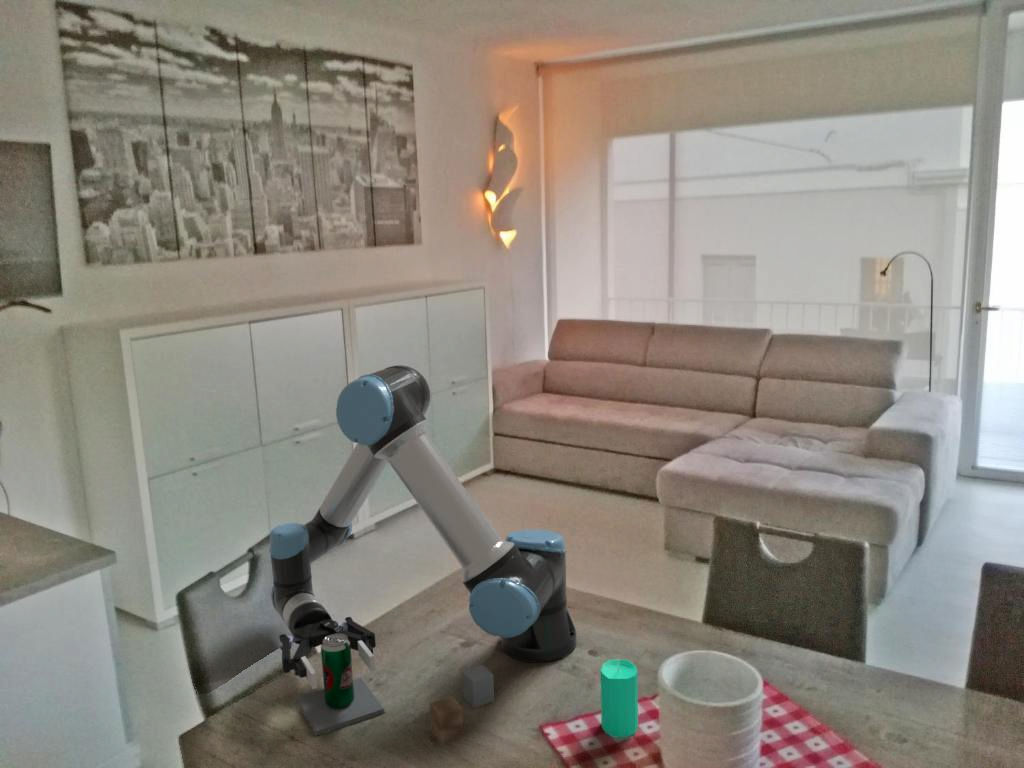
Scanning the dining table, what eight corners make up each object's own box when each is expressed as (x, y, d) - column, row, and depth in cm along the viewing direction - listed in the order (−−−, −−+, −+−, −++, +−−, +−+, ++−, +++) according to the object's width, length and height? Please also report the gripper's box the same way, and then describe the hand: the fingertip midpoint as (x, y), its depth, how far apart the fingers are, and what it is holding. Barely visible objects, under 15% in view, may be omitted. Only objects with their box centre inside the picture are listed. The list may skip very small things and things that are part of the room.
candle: (614, 711, 141) (613, 647, 138) (644, 724, 137) (644, 658, 135) (594, 728, 136) (593, 662, 134) (625, 742, 132) (624, 674, 130)
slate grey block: (483, 690, 149) (482, 665, 148) (494, 700, 145) (493, 675, 144) (464, 697, 147) (462, 671, 146) (474, 707, 143) (472, 681, 142)
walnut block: (453, 722, 139) (451, 696, 138) (463, 735, 136) (461, 707, 135) (431, 730, 137) (429, 703, 136) (441, 743, 134) (439, 715, 133)
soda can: (348, 711, 142) (343, 647, 140) (320, 709, 143) (315, 645, 141) (358, 695, 147) (354, 633, 145) (332, 693, 148) (327, 631, 146)
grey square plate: (361, 681, 153) (360, 677, 153) (384, 712, 143) (383, 708, 143) (297, 701, 147) (296, 697, 147) (316, 735, 137) (315, 731, 137)
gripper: (363, 622, 165) (406, 673, 146) (250, 653, 154) (280, 712, 135) (361, 587, 163) (403, 634, 144) (247, 616, 153) (276, 670, 134)
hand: (343, 672), depth 140 cm, fingers open, 9 cm apart
